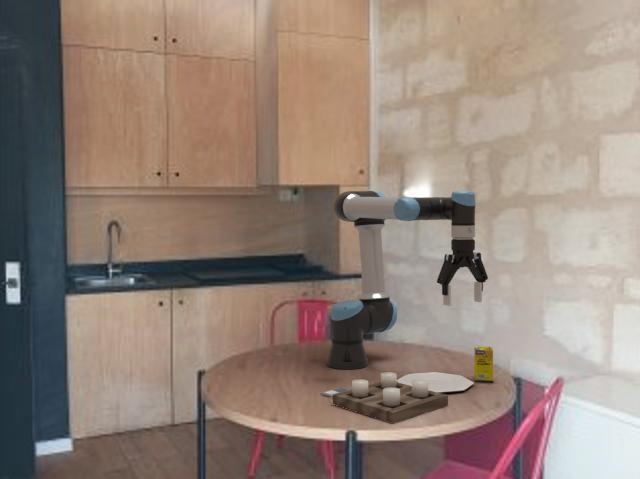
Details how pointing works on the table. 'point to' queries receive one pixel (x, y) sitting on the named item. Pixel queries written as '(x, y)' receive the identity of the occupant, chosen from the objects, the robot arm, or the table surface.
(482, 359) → the supplement box
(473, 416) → the table surface
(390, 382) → the button
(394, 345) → the table surface
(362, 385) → the button
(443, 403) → the board
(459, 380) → the plate
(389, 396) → the button
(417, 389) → the button
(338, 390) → the card
